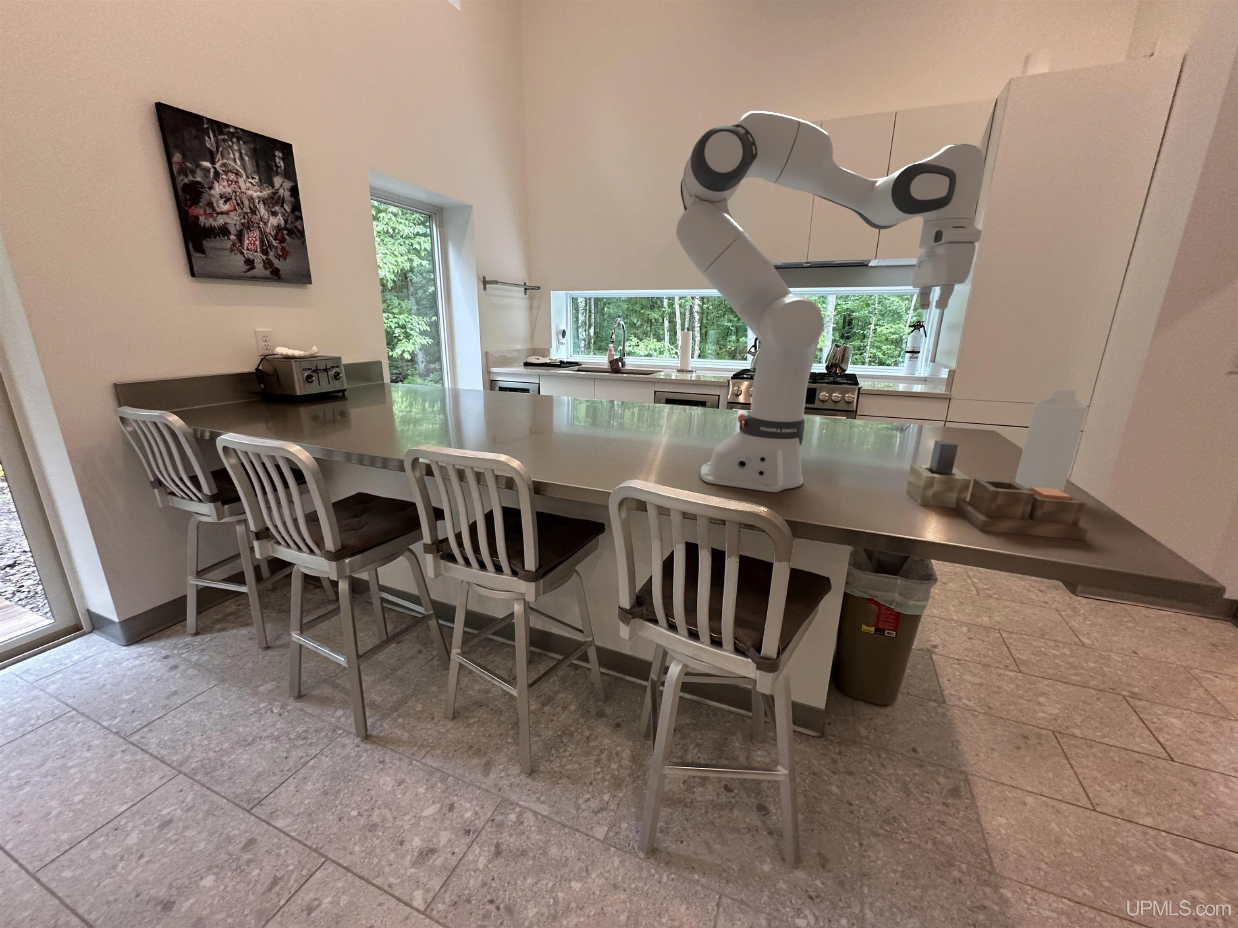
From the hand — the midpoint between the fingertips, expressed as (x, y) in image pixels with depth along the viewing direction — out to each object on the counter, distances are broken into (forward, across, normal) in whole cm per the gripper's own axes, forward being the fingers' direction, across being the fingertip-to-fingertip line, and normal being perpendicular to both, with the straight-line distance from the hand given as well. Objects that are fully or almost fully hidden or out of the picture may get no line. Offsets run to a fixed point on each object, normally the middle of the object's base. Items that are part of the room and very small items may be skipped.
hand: (931, 309), depth 106 cm
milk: (+37, +4, +26) cm, 46 cm away
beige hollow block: (+37, +15, +2) cm, 40 cm away
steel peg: (+37, +15, +2) cm, 40 cm away
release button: (+35, +25, +16) cm, 46 cm away
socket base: (+37, +25, +12) cm, 46 cm away
